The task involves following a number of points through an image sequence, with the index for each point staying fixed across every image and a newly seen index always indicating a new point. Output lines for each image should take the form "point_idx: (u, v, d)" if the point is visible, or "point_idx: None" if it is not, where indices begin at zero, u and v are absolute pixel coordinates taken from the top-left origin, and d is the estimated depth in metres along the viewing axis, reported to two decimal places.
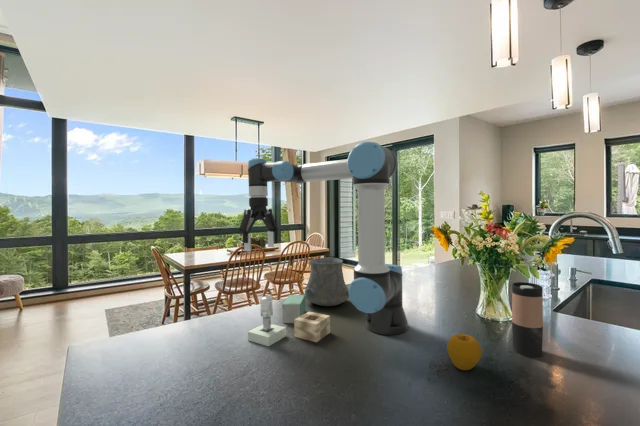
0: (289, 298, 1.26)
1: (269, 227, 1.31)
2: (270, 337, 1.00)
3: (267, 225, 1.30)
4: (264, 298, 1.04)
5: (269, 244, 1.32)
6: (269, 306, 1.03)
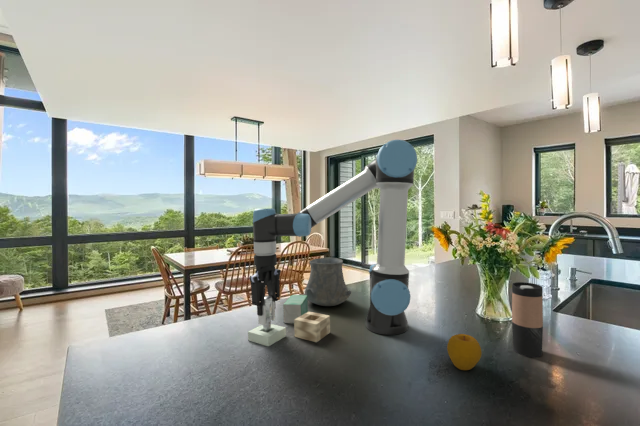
0: (291, 298, 1.26)
1: (271, 294, 1.07)
2: (270, 337, 1.00)
3: (269, 290, 1.07)
4: (264, 298, 1.04)
5: None
6: (269, 306, 1.03)
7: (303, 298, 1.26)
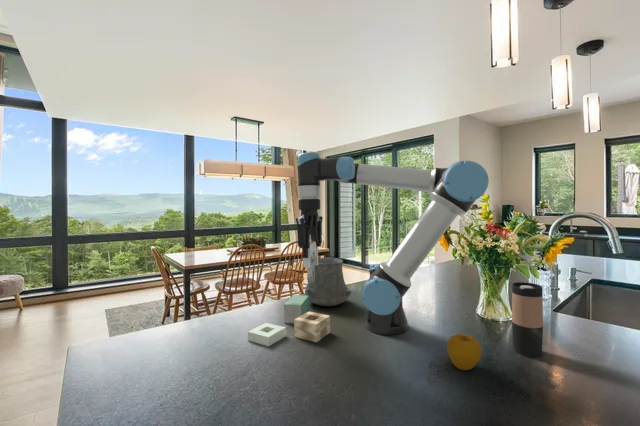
0: (292, 298, 1.26)
1: (314, 239, 1.08)
2: (270, 337, 1.00)
3: (313, 236, 1.08)
4: None
5: None
6: (313, 249, 1.05)
7: (304, 298, 1.25)
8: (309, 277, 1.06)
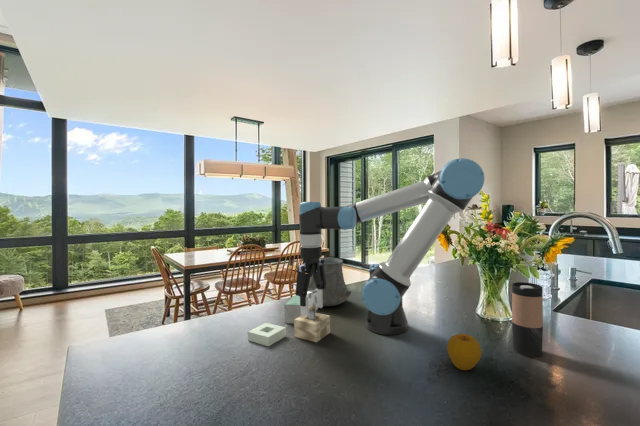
0: (294, 298, 1.26)
1: (318, 283, 1.10)
2: (270, 337, 1.00)
3: (316, 280, 1.10)
4: (310, 292, 1.06)
5: None
6: (315, 300, 1.06)
7: None
8: None
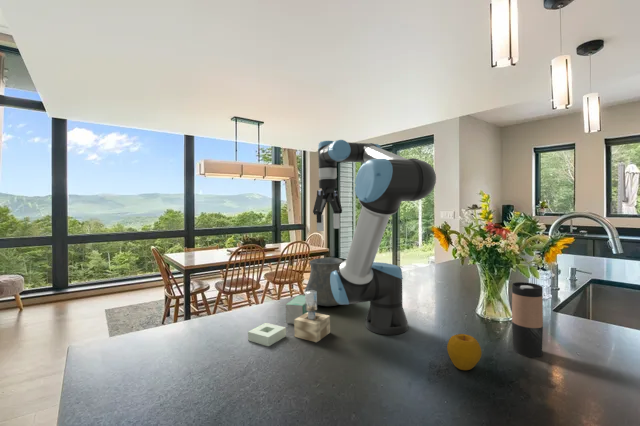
0: (296, 298, 1.25)
1: (335, 209, 1.34)
2: (270, 337, 1.00)
3: (334, 207, 1.33)
4: (309, 292, 1.06)
5: (335, 226, 1.35)
6: (314, 300, 1.05)
7: None
8: None
